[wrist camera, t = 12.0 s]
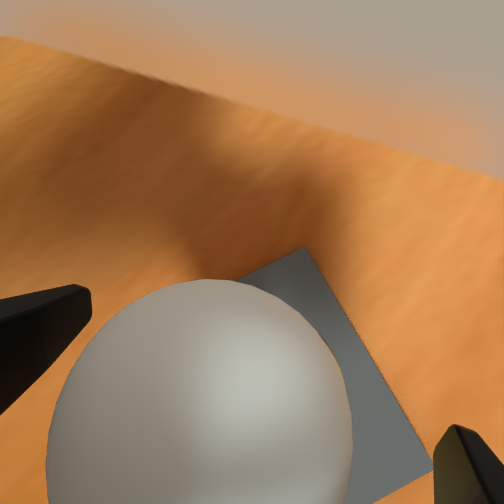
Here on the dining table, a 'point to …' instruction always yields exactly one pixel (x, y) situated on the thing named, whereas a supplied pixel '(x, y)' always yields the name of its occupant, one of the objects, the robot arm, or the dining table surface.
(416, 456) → the parts mat
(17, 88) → the dining table surface
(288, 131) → the dining table surface
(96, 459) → the lightbulb
